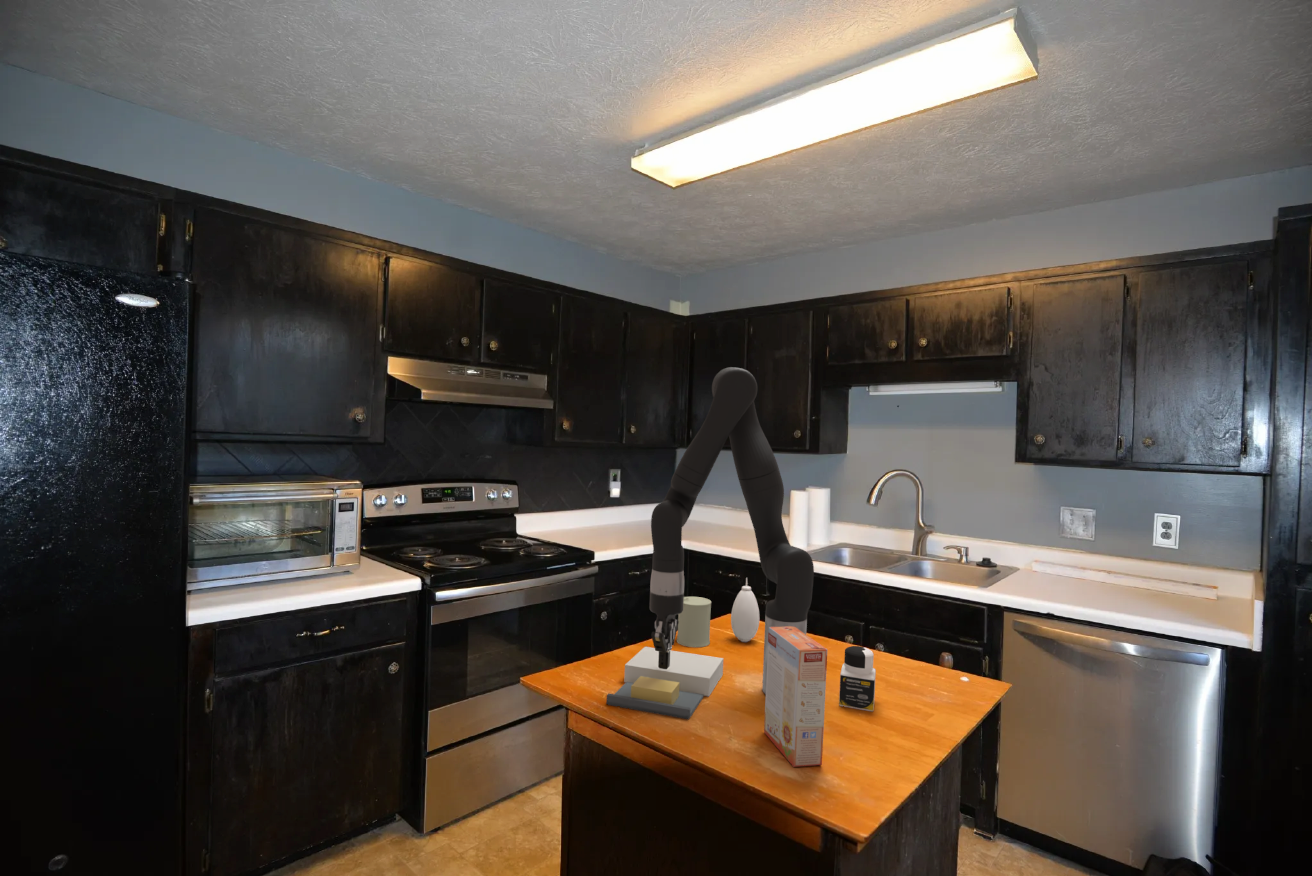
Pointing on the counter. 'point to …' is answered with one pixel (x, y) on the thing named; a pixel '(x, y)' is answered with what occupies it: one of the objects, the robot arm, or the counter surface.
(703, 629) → the can
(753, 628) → the white bulb air blower
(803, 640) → the cracker box
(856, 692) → the medicine bottle
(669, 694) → the yellow block
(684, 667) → the white flat block
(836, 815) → the counter surface
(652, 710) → the tray
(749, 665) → the counter surface
